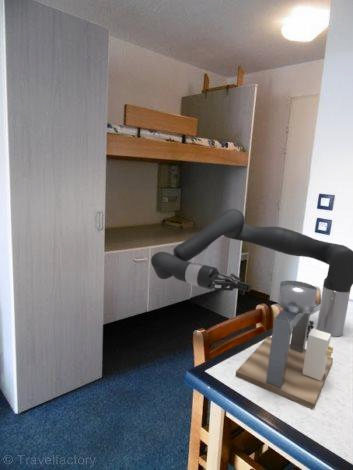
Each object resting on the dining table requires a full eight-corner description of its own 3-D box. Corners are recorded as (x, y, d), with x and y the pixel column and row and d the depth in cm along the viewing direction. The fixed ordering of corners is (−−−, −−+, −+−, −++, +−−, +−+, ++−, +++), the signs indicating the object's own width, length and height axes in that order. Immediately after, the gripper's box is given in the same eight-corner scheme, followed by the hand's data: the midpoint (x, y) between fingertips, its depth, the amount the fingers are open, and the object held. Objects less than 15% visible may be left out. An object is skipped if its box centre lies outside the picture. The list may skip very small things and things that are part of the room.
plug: (306, 366, 97) (312, 328, 95) (329, 374, 94) (335, 335, 91) (302, 373, 93) (308, 334, 91) (325, 382, 90) (332, 342, 87)
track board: (267, 340, 115) (268, 336, 114) (332, 362, 103) (333, 358, 103) (235, 376, 93) (236, 371, 92) (313, 409, 81) (314, 404, 81)
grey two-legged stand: (283, 342, 111) (293, 273, 107) (314, 352, 106) (325, 280, 101) (255, 378, 90) (265, 293, 85) (292, 393, 84) (305, 304, 80)
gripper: (192, 268, 105) (243, 281, 96) (211, 261, 116) (259, 272, 106) (190, 291, 106) (240, 305, 97) (210, 281, 117) (256, 294, 108)
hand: (250, 288), depth 102 cm, fingers closed
